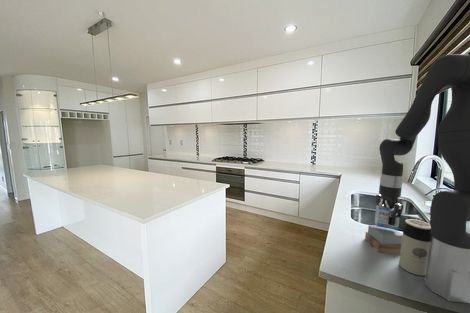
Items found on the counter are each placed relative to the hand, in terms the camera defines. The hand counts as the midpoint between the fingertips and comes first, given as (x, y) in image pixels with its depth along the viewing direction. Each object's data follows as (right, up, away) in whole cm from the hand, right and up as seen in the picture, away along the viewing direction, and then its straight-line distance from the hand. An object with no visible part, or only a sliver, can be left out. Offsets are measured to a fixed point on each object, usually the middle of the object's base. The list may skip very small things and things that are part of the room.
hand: (386, 221), depth 86 cm
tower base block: (-1, -12, +1) cm, 12 cm away
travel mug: (-1, -13, -13) cm, 19 cm away
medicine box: (0, -2, 0) cm, 2 cm away
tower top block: (0, -8, +1) cm, 8 cm away
